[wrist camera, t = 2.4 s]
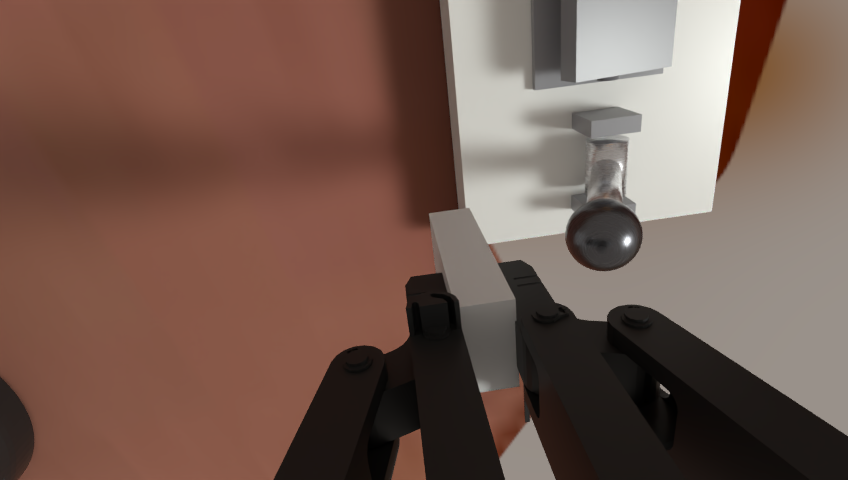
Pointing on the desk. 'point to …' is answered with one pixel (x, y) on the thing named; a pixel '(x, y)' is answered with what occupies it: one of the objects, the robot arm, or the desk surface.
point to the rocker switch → (615, 37)
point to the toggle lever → (604, 209)
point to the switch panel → (579, 116)
